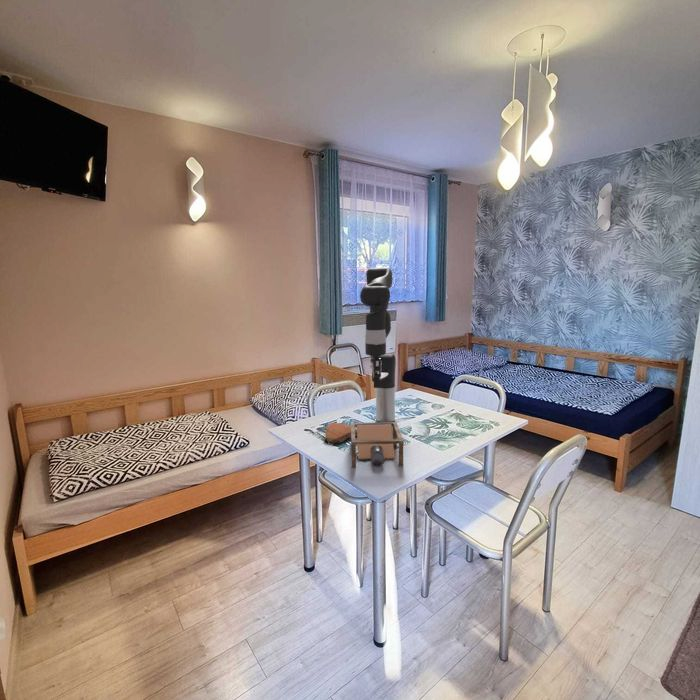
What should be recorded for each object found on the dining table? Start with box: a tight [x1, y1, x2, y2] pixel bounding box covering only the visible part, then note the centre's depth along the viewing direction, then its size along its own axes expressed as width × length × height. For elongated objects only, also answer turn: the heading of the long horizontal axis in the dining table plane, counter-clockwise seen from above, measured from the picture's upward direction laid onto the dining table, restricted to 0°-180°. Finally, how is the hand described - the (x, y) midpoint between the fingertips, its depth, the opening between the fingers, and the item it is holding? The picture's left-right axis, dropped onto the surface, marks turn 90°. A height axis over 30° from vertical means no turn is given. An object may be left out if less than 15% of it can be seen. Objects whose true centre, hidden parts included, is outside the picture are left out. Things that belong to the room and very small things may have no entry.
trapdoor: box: [356, 424, 395, 460], centre depth 152 cm, size 14×14×1 cm
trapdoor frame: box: [350, 421, 404, 468], centre depth 151 cm, size 19×19×10 cm
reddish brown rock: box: [324, 422, 357, 443], centre depth 170 cm, size 15×6×15 cm
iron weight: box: [370, 445, 386, 467], centre depth 144 cm, size 5×5×6 cm
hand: (375, 384), depth 143 cm, fingers open, 8 cm apart
